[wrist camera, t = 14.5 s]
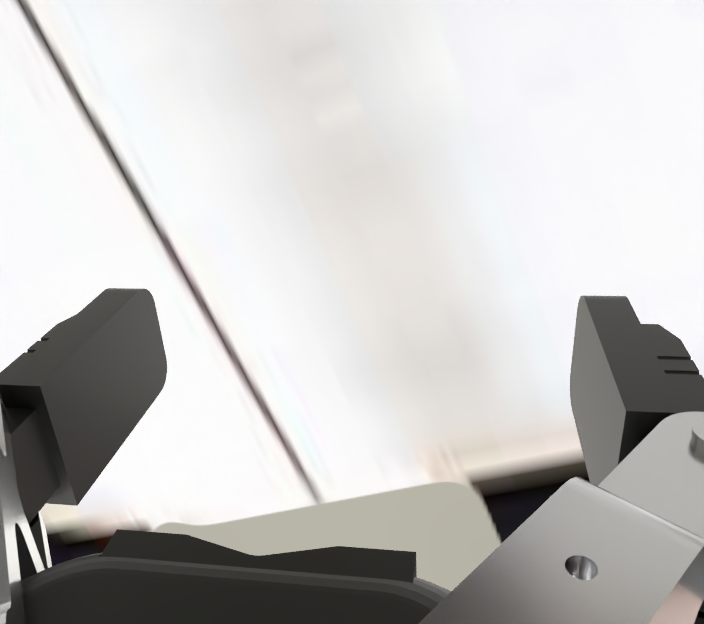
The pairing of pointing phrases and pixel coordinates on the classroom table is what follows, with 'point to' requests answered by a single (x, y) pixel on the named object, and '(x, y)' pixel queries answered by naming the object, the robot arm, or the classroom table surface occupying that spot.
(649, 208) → the classroom table surface
